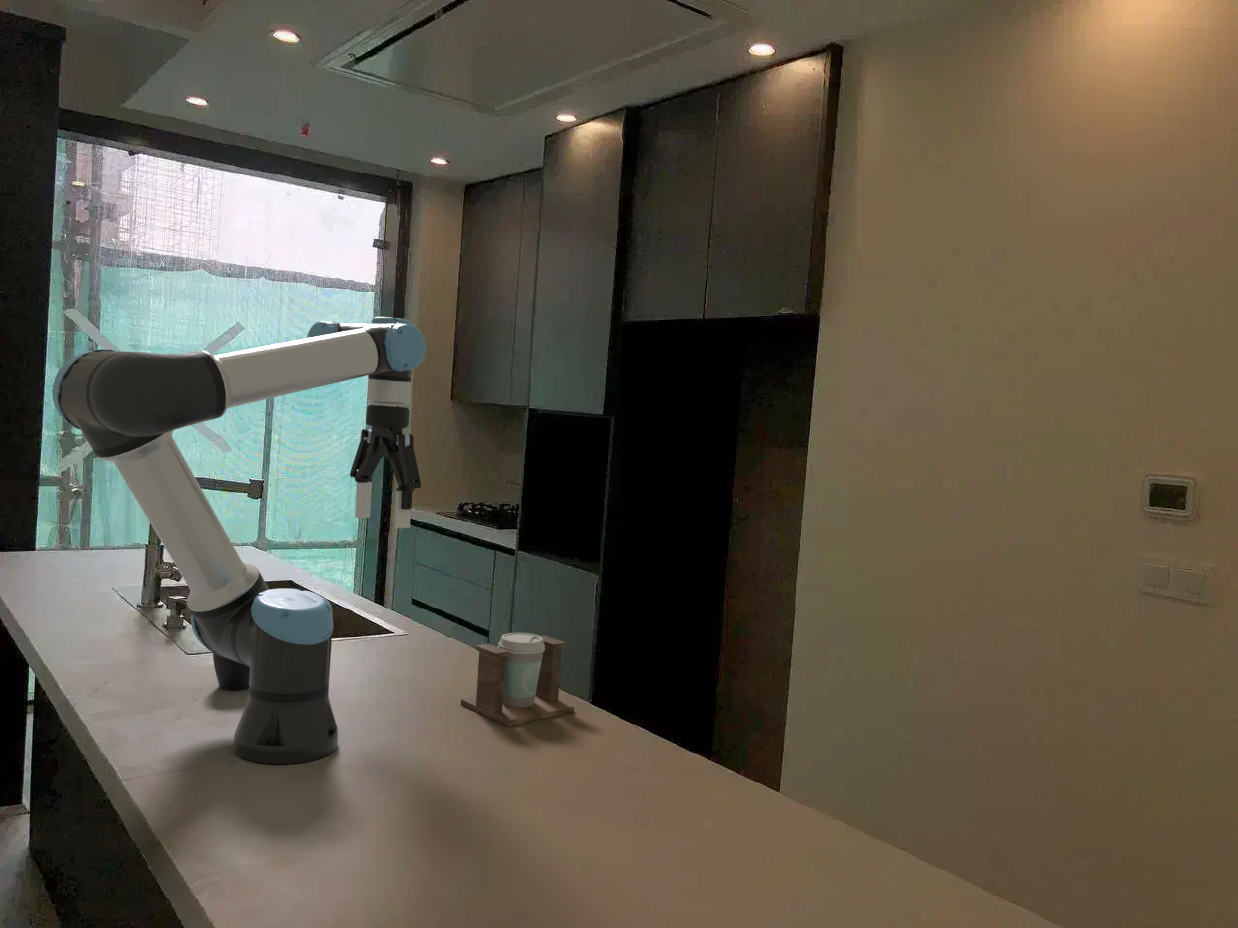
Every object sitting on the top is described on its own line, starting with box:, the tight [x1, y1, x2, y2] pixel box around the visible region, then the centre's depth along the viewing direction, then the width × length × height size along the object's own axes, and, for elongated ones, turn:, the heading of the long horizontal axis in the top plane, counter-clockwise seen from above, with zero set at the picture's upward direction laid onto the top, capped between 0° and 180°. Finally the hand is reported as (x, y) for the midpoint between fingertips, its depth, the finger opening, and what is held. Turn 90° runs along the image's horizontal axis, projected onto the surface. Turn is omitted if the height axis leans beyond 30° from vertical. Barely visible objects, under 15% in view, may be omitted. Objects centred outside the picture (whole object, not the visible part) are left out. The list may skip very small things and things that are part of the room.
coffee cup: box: [497, 632, 545, 708], centre depth 176 cm, size 8×8×12 cm
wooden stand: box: [460, 634, 575, 727], centre depth 176 cm, size 16×14×12 cm
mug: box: [212, 652, 250, 692], centre depth 179 cm, size 8×12×10 cm
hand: (381, 522), depth 176 cm, fingers open, 13 cm apart
